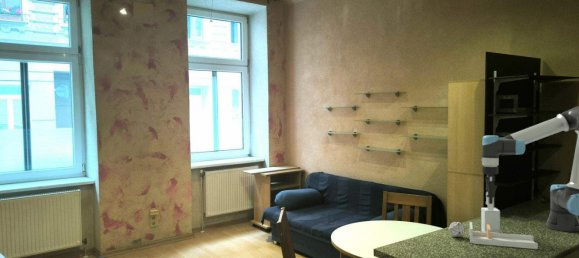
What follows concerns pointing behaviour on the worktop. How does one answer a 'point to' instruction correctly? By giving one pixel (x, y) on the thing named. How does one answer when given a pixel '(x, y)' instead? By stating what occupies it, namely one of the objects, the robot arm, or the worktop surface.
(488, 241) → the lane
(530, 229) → the worktop surface
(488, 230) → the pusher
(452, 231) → the game die
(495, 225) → the supplement box
